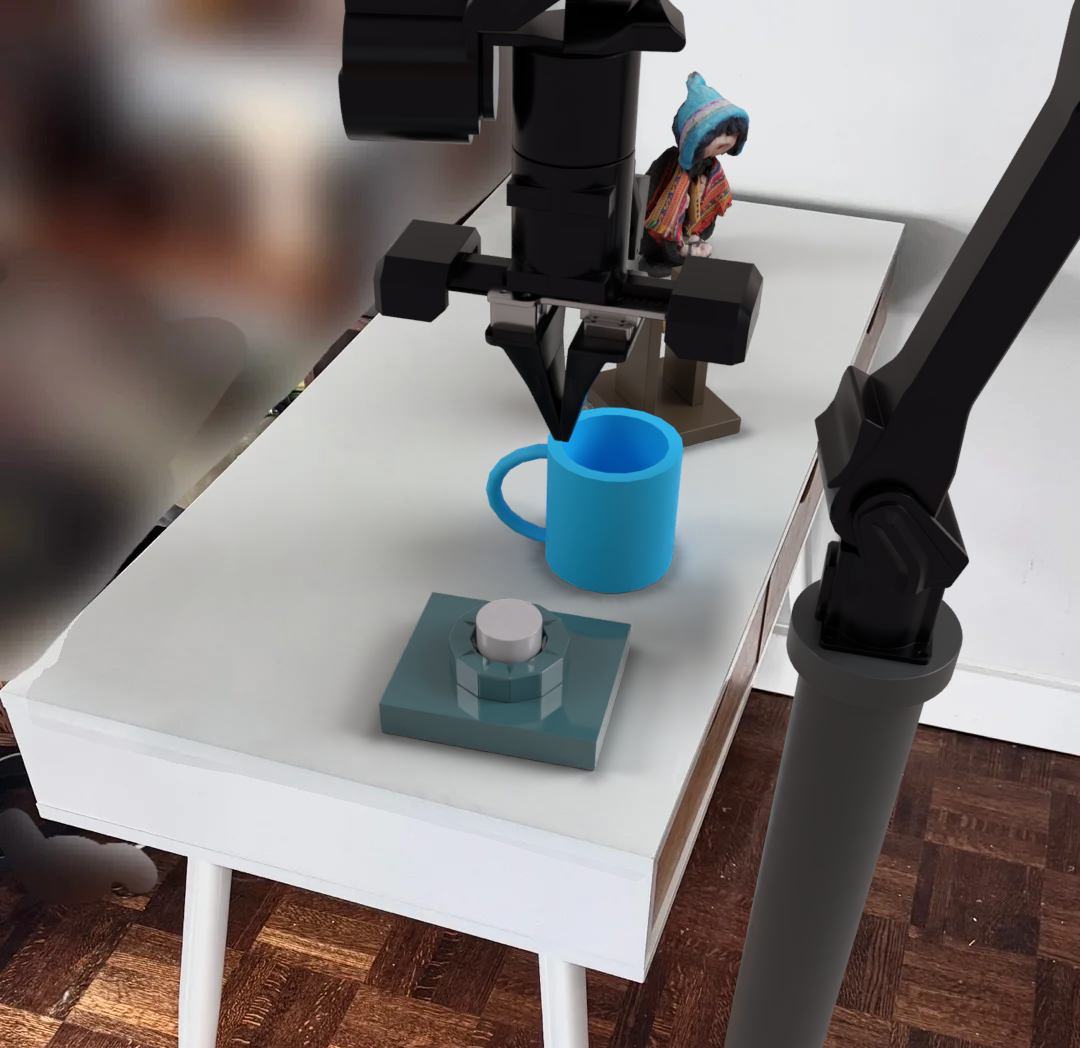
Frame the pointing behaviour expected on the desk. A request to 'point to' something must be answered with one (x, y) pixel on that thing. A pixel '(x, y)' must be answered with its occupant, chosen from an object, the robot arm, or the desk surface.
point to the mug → (604, 499)
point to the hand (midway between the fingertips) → (563, 437)
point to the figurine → (691, 179)
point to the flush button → (509, 630)
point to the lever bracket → (665, 388)
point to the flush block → (508, 686)
